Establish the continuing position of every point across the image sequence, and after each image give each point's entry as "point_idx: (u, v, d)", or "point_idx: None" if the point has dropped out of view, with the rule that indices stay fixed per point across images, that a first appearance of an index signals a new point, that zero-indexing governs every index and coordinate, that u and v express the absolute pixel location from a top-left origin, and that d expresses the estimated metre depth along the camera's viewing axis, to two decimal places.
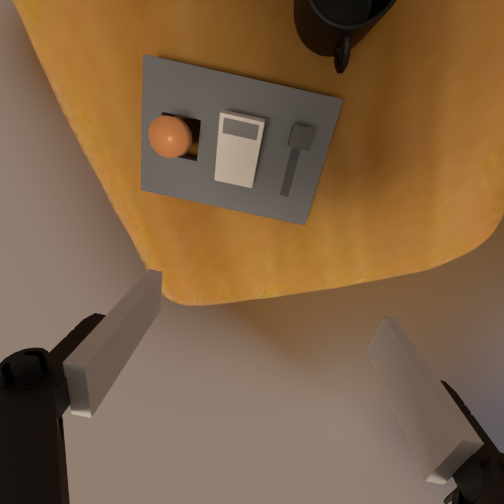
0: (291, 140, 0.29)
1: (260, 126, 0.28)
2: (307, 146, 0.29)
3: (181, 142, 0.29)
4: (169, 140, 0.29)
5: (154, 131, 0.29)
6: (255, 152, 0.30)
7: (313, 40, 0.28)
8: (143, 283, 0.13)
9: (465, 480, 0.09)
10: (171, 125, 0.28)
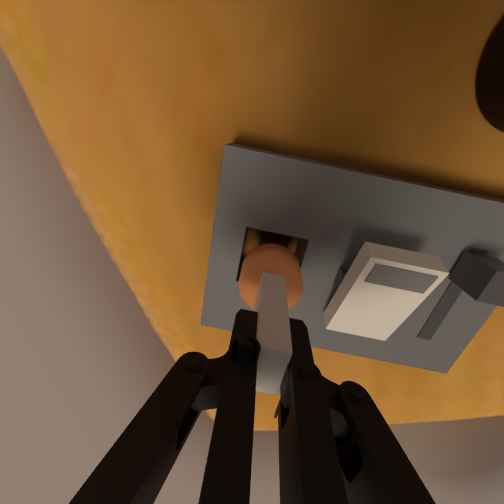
0: (483, 293, 0.17)
1: (439, 277, 0.16)
2: None
3: (293, 294, 0.17)
4: None
5: (249, 278, 0.17)
6: (412, 305, 0.18)
7: None
8: (267, 283, 0.15)
9: (282, 395, 0.11)
10: (280, 271, 0.17)
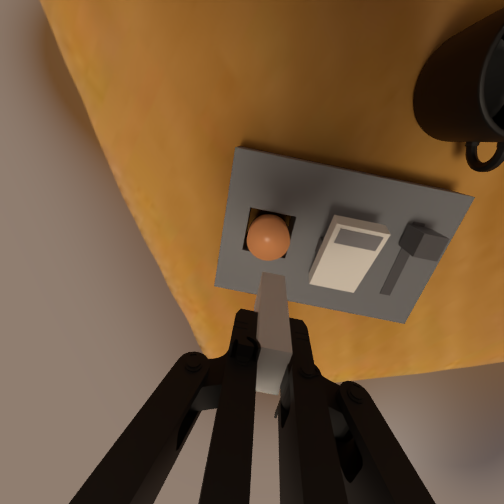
0: (417, 250, 0.24)
1: (384, 238, 0.23)
2: (436, 257, 0.24)
3: (283, 246, 0.26)
4: (270, 244, 0.26)
5: (254, 235, 0.26)
6: (369, 261, 0.25)
7: (447, 133, 0.23)
8: (267, 283, 0.15)
9: (282, 395, 0.11)
10: (274, 229, 0.25)
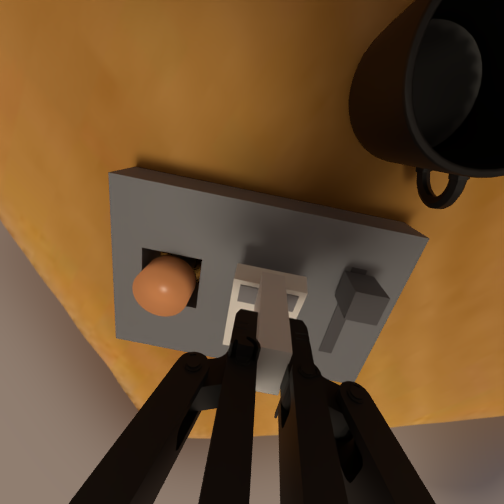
0: (349, 312, 0.18)
1: (300, 297, 0.17)
2: (374, 320, 0.18)
3: (180, 300, 0.20)
4: (163, 297, 0.20)
5: (141, 286, 0.20)
6: None
7: (387, 155, 0.17)
8: (267, 283, 0.15)
9: (282, 395, 0.11)
10: (165, 280, 0.19)
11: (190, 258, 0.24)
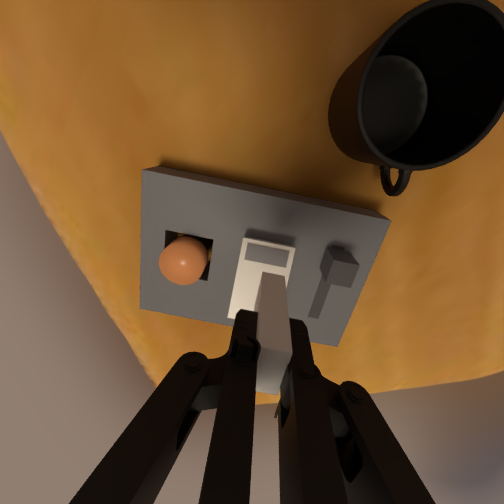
0: (329, 276, 0.23)
1: (290, 252, 0.24)
2: (349, 283, 0.23)
3: (197, 270, 0.25)
4: (183, 269, 0.25)
5: (165, 259, 0.25)
6: None
7: (356, 156, 0.23)
8: (267, 283, 0.15)
9: (282, 395, 0.11)
10: (185, 254, 0.24)
11: (202, 241, 0.29)
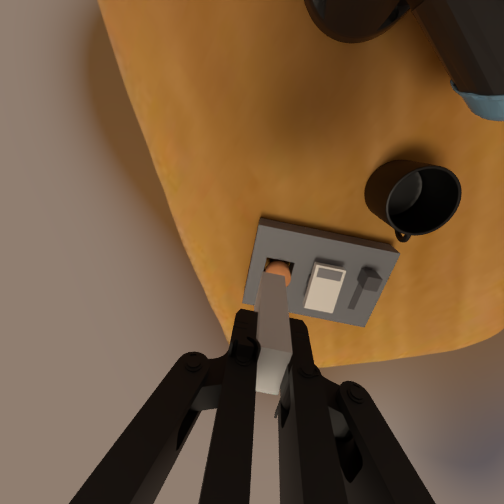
0: (365, 285, 0.41)
1: (343, 273, 0.42)
2: (376, 289, 0.42)
3: (287, 281, 0.43)
4: None
5: None
6: (338, 289, 0.42)
7: None
8: (267, 283, 0.15)
9: (282, 395, 0.11)
10: (281, 272, 0.43)
11: (282, 262, 0.47)
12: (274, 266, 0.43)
